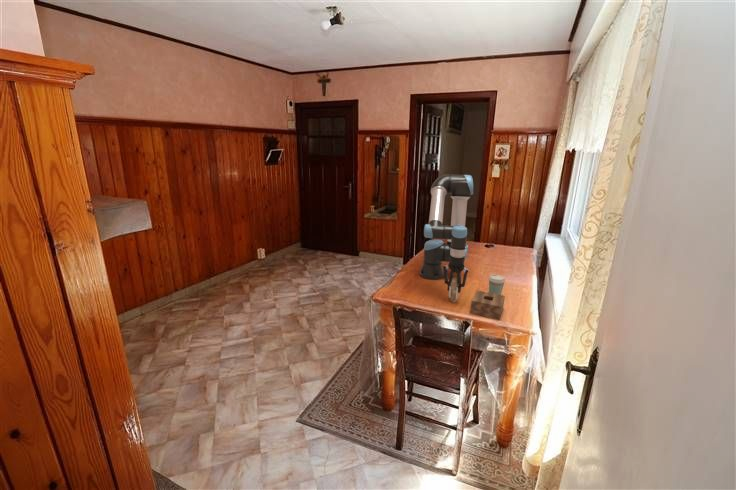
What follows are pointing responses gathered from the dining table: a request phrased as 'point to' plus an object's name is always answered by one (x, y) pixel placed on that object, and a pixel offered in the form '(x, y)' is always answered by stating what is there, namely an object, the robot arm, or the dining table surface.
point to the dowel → (454, 289)
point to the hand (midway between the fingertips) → (453, 296)
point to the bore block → (487, 304)
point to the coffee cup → (496, 284)
